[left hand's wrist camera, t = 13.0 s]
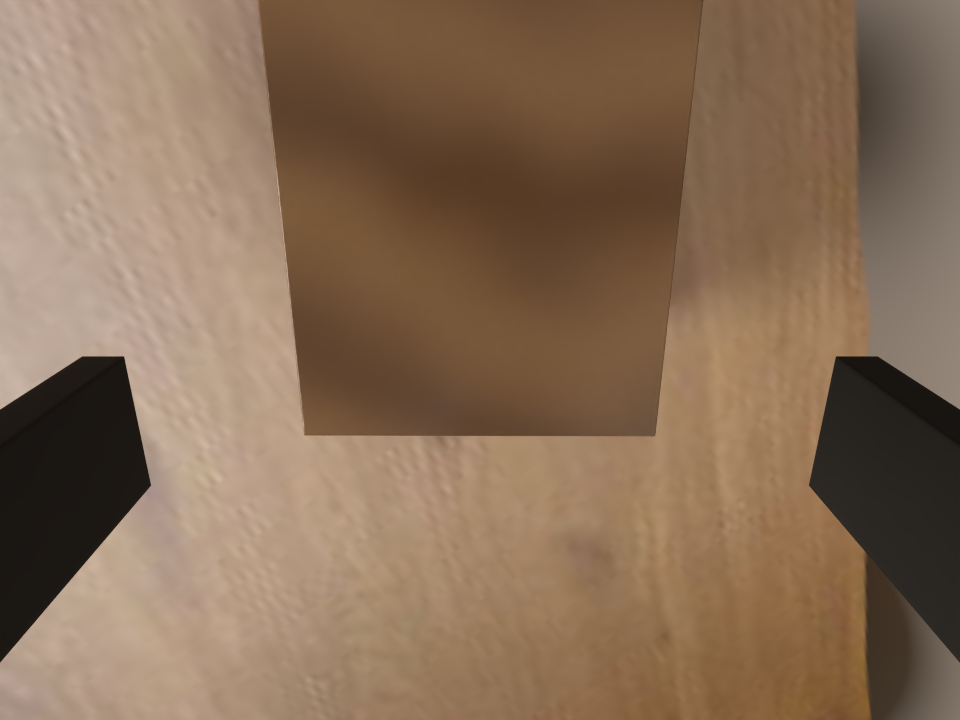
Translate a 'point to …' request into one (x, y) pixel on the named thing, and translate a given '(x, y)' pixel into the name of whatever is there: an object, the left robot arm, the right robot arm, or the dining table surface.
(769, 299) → the dining table surface
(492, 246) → the cabinet
